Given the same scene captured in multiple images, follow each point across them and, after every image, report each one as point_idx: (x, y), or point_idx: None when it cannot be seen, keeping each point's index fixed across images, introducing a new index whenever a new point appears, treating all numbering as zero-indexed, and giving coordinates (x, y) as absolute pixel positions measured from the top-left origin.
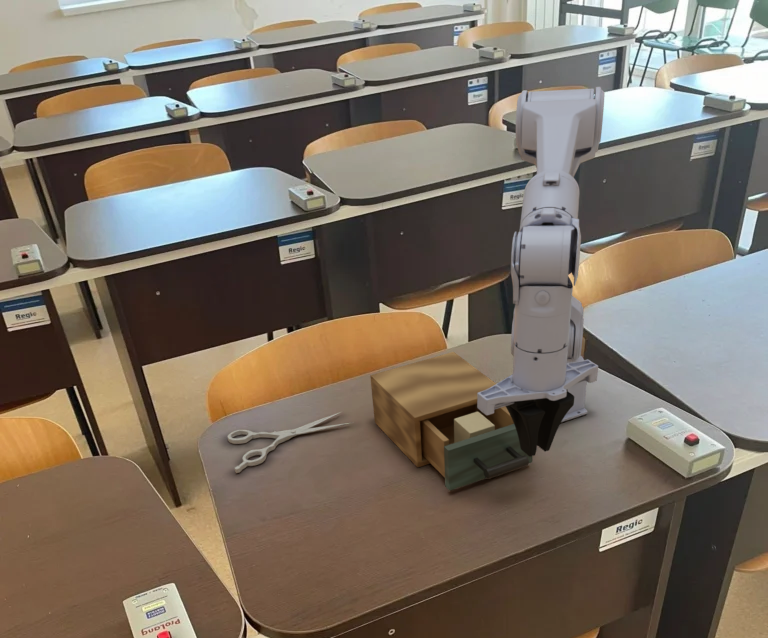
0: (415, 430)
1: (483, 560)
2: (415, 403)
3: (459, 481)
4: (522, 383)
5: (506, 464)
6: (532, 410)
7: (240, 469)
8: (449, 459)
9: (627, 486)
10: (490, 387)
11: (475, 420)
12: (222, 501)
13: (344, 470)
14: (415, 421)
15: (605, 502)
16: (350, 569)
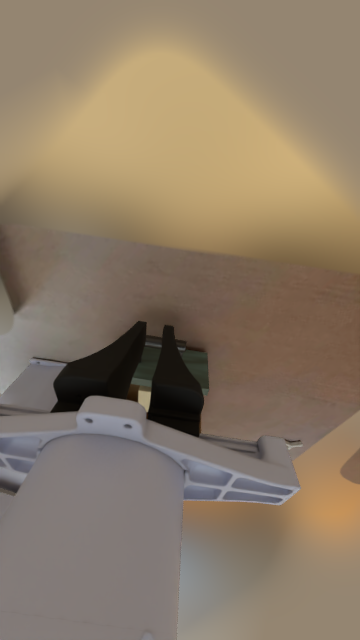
0: (200, 419)
1: (255, 263)
2: None
3: (196, 355)
4: (182, 493)
5: (161, 345)
6: (176, 398)
7: (298, 443)
8: (207, 379)
9: (49, 259)
10: (238, 501)
11: (149, 403)
12: (332, 429)
13: (244, 409)
14: (200, 429)
15: (86, 253)
16: (349, 329)
